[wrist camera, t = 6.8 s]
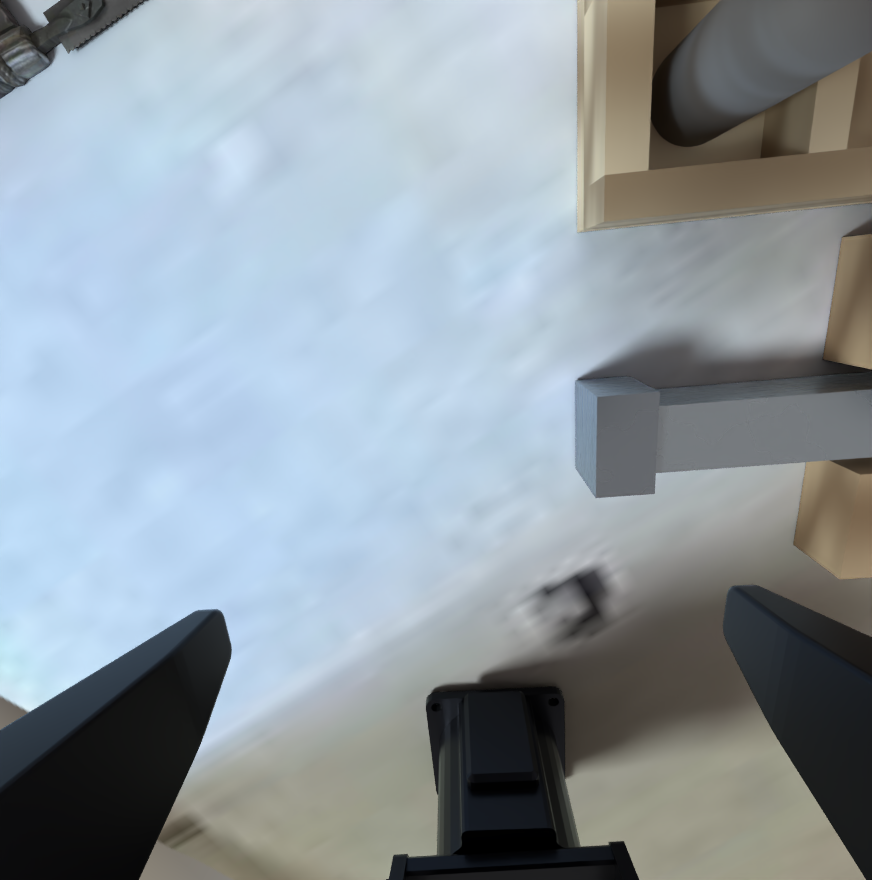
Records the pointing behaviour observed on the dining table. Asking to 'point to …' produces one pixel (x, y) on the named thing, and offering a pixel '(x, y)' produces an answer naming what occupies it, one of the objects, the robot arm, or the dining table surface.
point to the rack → (721, 109)
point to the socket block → (847, 480)
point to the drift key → (715, 427)
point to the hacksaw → (51, 36)
